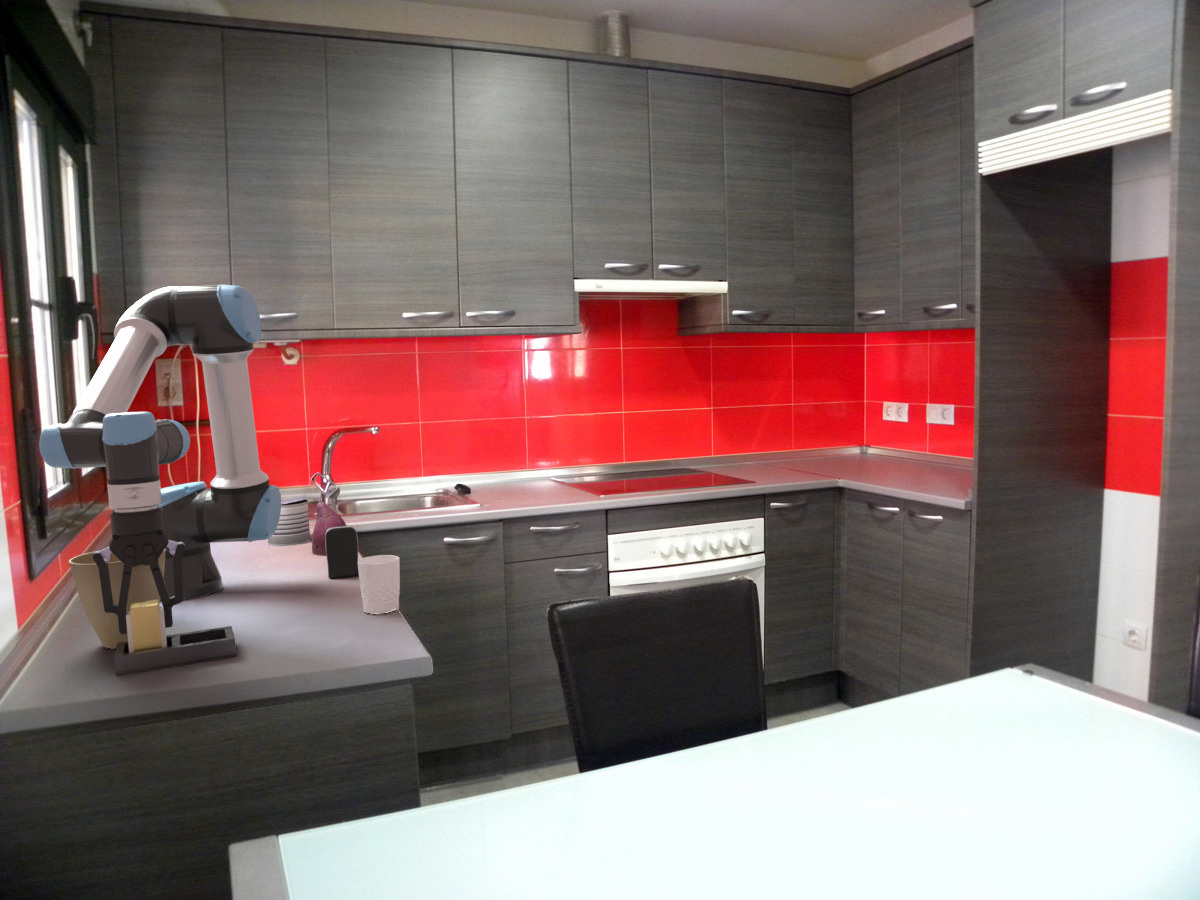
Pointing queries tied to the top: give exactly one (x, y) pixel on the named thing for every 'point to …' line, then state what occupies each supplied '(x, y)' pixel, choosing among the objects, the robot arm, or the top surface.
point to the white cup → (379, 583)
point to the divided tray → (178, 651)
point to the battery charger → (342, 551)
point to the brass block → (145, 625)
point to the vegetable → (324, 526)
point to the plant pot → (92, 598)
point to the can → (292, 523)
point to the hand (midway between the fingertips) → (148, 649)
